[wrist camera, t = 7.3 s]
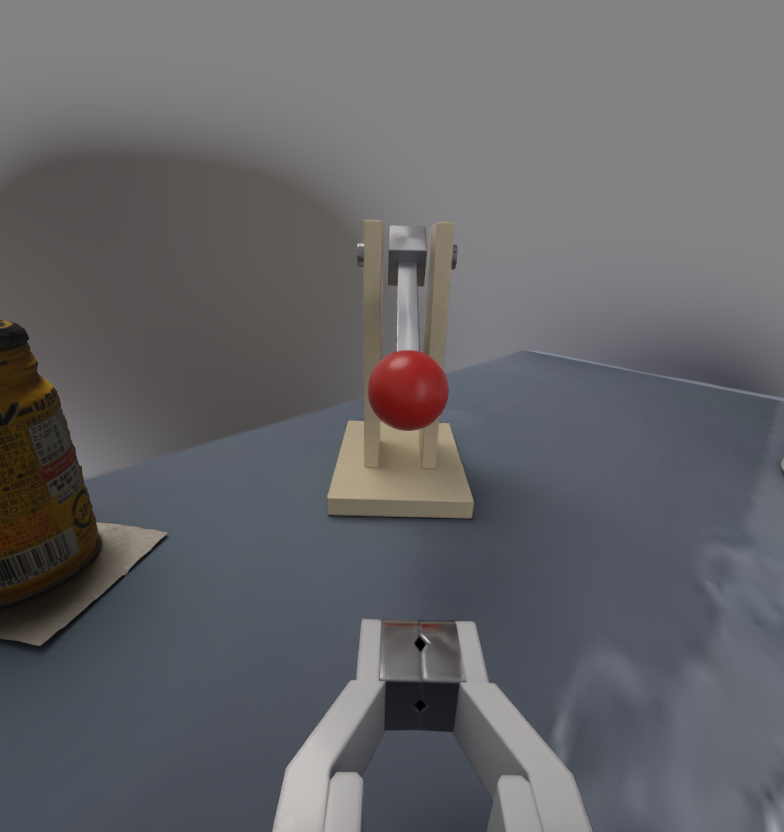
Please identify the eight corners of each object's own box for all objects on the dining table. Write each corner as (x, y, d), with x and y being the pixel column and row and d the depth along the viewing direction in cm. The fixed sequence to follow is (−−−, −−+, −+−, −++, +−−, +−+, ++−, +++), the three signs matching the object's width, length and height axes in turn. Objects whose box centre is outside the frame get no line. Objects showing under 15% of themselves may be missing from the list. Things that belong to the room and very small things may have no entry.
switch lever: (445, 447, 18) (457, 396, 15) (366, 445, 18) (363, 394, 15) (432, 270, 27) (438, 216, 24) (378, 268, 27) (378, 214, 24)
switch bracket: (472, 519, 25) (510, 217, 18) (327, 515, 25) (313, 212, 18) (448, 436, 36) (466, 230, 29) (348, 433, 36) (344, 227, 29)
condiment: (43, 514, 24) (-33, 311, 19) (168, 535, 23) (118, 321, 18) (-122, 615, 17) (-299, 341, 13) (42, 652, 16) (-89, 360, 11)
